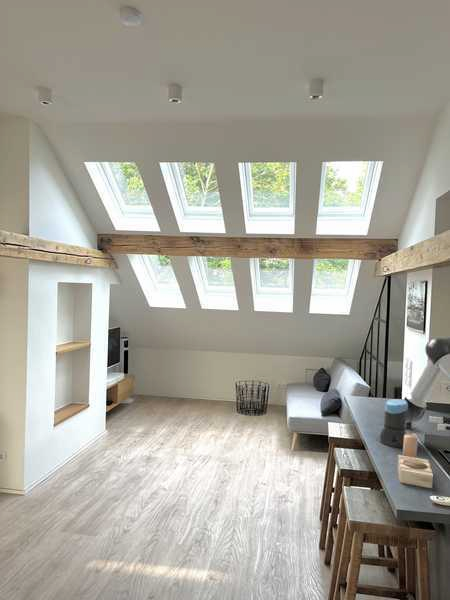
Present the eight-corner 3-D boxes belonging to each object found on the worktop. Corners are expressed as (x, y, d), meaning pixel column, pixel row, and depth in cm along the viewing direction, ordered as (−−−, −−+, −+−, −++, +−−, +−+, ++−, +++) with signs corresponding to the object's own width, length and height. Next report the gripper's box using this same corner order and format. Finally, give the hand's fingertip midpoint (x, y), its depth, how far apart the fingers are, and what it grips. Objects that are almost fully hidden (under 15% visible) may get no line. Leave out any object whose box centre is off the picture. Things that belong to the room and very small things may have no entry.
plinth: (397, 466, 221) (398, 454, 221) (427, 471, 217) (428, 458, 217) (399, 482, 202) (400, 468, 202) (431, 488, 198) (433, 474, 198)
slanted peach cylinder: (407, 456, 236) (409, 433, 236) (418, 461, 231) (420, 437, 230) (399, 458, 233) (401, 434, 232) (410, 463, 227) (412, 438, 227)
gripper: (489, 442, 214) (441, 438, 217) (468, 427, 239) (425, 423, 242) (490, 426, 214) (442, 422, 217) (469, 413, 239) (426, 409, 242)
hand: (433, 422), depth 229 cm, fingers open, 13 cm apart
